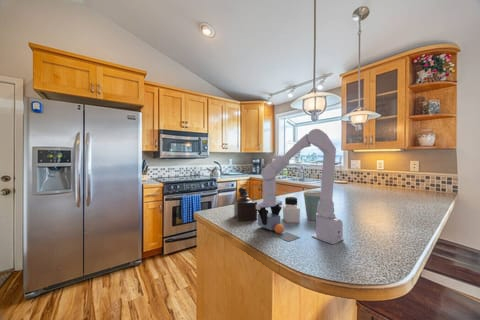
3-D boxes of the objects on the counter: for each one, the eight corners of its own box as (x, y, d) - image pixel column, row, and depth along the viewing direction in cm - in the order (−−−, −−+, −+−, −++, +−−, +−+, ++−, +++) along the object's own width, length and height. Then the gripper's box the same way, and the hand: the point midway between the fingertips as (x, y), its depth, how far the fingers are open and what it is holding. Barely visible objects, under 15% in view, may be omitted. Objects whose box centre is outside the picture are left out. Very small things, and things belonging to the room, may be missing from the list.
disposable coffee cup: (300, 219, 106) (300, 190, 106) (306, 214, 115) (306, 188, 114) (321, 223, 100) (321, 193, 99) (326, 217, 108) (326, 190, 108)
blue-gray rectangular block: (280, 227, 90) (280, 215, 90) (271, 230, 87) (270, 218, 87) (267, 222, 97) (267, 211, 97) (258, 225, 94) (257, 213, 94)
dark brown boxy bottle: (232, 215, 112) (232, 183, 112) (251, 214, 115) (251, 183, 115) (239, 225, 97) (239, 188, 97) (260, 223, 100) (260, 187, 100)
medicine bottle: (299, 222, 101) (300, 198, 100) (285, 222, 101) (285, 198, 101) (296, 218, 108) (296, 195, 108) (282, 218, 108) (282, 195, 108)
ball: (278, 229, 90) (284, 234, 87) (271, 231, 88) (278, 236, 84) (280, 221, 89) (286, 226, 86) (273, 223, 87) (280, 228, 83)
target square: (299, 237, 82) (299, 237, 82) (288, 241, 78) (288, 241, 78) (286, 232, 88) (286, 231, 88) (275, 236, 84) (275, 235, 84)
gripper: (274, 190, 99) (274, 217, 99) (251, 193, 91) (251, 223, 91) (285, 192, 93) (285, 221, 93) (261, 196, 85) (261, 228, 85)
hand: (269, 222), depth 92 cm, fingers closed on blue-gray rectangular block, 6 cm apart
